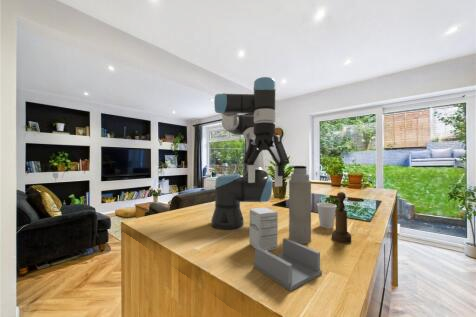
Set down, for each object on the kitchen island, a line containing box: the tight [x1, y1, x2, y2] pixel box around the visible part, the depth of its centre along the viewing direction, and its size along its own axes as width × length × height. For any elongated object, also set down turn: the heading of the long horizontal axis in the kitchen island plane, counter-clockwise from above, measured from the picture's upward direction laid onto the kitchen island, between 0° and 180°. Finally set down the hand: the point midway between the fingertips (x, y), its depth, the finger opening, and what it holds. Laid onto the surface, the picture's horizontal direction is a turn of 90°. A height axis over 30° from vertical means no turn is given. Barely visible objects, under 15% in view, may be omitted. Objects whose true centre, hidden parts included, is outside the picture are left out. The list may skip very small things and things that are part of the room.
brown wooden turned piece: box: [331, 191, 352, 244], centre depth 77 cm, size 7×6×18 cm
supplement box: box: [248, 207, 279, 252], centre depth 70 cm, size 7×7×13 cm
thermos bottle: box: [288, 165, 312, 245], centre depth 77 cm, size 8×8×28 cm
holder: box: [253, 237, 323, 292], centre depth 54 cm, size 13×12×6 cm
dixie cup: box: [316, 202, 338, 229], centre depth 92 cm, size 8×8×10 cm
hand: (264, 184), depth 70 cm, fingers open, 13 cm apart
